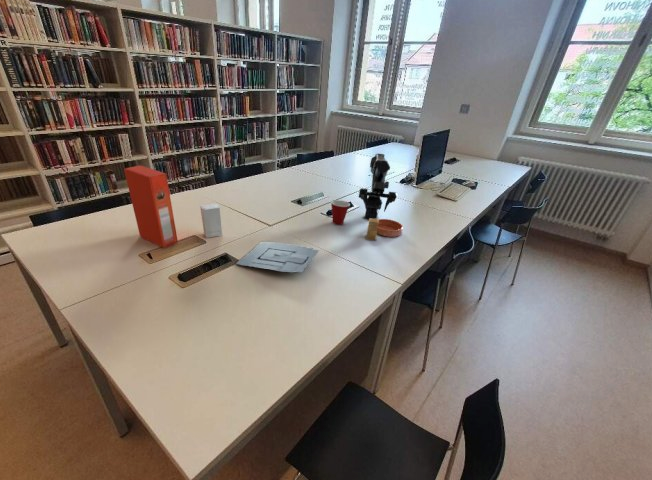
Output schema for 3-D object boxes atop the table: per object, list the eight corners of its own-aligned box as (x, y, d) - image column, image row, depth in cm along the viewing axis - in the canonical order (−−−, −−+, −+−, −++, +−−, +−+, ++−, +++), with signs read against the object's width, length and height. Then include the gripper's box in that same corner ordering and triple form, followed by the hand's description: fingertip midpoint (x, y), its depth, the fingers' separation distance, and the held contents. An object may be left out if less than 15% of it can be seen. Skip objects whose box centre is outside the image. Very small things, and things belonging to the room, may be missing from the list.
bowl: (369, 233, 171) (370, 226, 169) (376, 223, 183) (378, 216, 181) (398, 240, 166) (399, 233, 164) (403, 229, 178) (405, 223, 176)
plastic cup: (350, 221, 183) (353, 201, 177) (343, 228, 174) (346, 207, 168) (332, 217, 187) (334, 197, 180) (325, 223, 178) (327, 203, 172)
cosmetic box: (219, 231, 162) (217, 203, 154) (222, 236, 157) (220, 207, 150) (203, 233, 159) (199, 204, 151) (205, 238, 154) (202, 209, 146)
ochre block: (366, 239, 165) (369, 221, 159) (366, 235, 168) (369, 218, 163) (375, 240, 164) (378, 222, 159) (375, 236, 168) (378, 219, 163)
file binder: (162, 248, 144) (149, 177, 127) (139, 237, 151) (123, 168, 134) (177, 242, 149) (166, 173, 133) (154, 231, 157) (141, 165, 140)
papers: (300, 280, 126) (299, 272, 124) (235, 269, 137) (234, 262, 135) (320, 254, 146) (320, 246, 144) (262, 246, 156) (261, 239, 154)
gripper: (362, 172, 160) (358, 201, 157) (400, 176, 158) (397, 205, 154) (360, 183, 171) (356, 210, 167) (396, 187, 169) (392, 214, 165)
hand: (375, 210), depth 163 cm, fingers open, 9 cm apart
